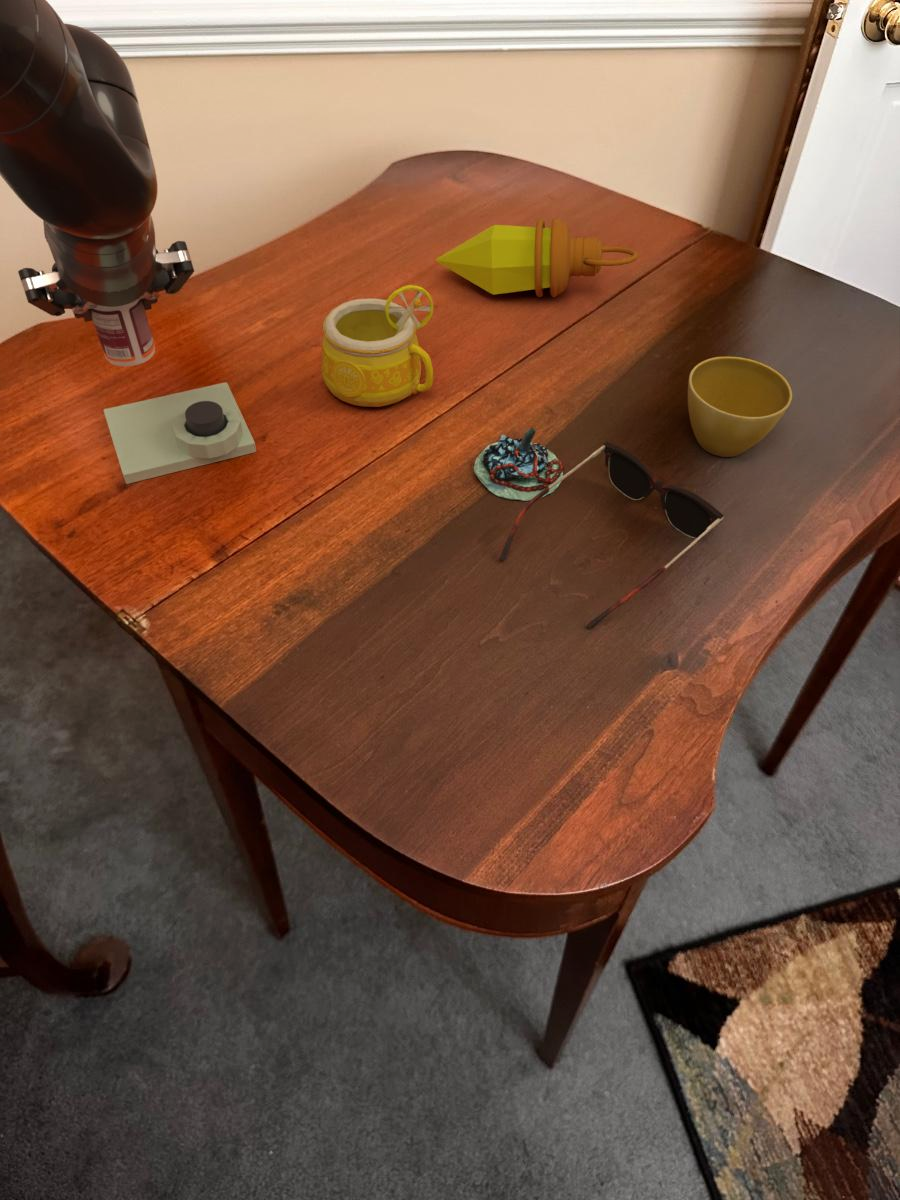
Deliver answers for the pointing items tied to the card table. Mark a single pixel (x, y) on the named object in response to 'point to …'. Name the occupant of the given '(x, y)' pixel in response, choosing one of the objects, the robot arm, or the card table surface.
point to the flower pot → (735, 403)
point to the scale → (174, 434)
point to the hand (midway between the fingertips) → (115, 304)
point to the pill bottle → (124, 333)
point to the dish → (518, 468)
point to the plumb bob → (529, 258)
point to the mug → (375, 350)
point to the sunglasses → (637, 483)
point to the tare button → (205, 418)
